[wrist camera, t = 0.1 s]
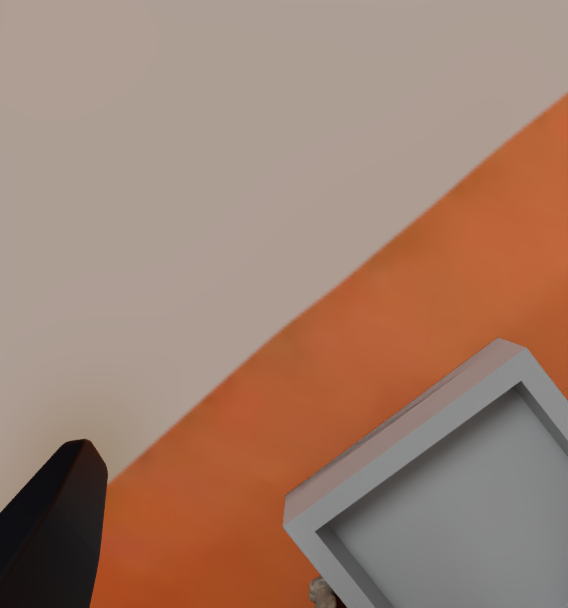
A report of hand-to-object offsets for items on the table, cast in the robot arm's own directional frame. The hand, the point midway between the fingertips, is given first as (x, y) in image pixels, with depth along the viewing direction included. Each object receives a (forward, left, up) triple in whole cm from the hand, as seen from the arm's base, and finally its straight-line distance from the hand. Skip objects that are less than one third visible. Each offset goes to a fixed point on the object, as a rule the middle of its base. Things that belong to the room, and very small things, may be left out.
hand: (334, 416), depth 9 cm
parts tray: (-12, 0, -15) cm, 19 cm away
